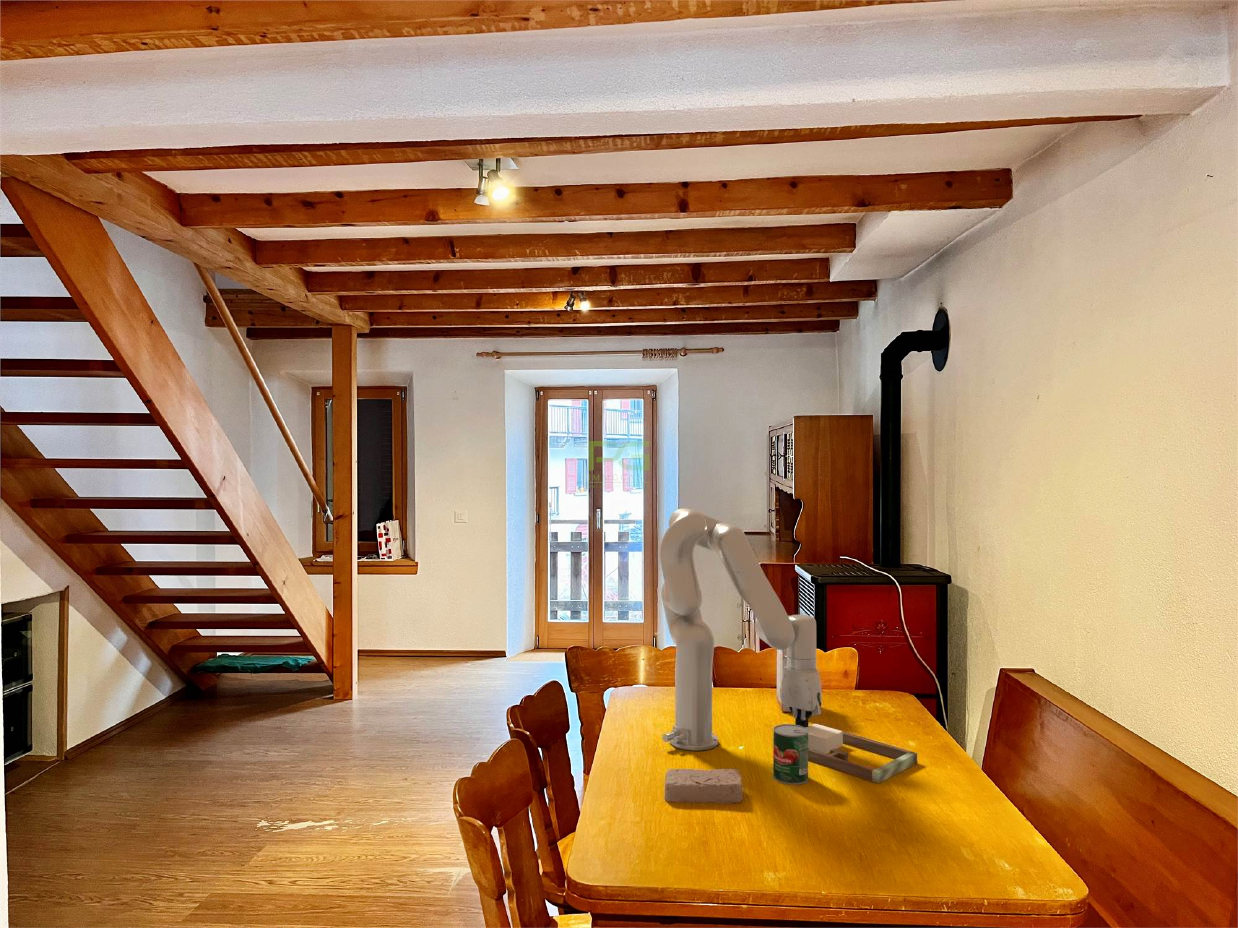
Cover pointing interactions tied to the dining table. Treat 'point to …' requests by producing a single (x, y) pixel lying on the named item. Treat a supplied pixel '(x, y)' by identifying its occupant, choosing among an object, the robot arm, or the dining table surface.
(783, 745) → the canned tomato
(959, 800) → the dining table surface
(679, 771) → the brick
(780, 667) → the cracker box
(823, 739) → the cream block
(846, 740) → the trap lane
